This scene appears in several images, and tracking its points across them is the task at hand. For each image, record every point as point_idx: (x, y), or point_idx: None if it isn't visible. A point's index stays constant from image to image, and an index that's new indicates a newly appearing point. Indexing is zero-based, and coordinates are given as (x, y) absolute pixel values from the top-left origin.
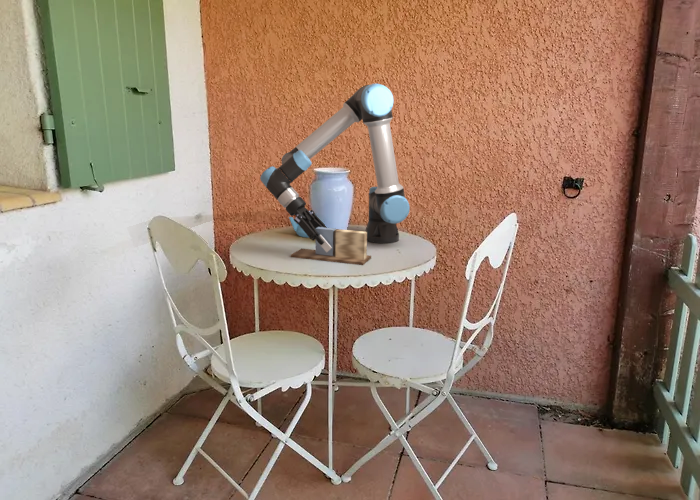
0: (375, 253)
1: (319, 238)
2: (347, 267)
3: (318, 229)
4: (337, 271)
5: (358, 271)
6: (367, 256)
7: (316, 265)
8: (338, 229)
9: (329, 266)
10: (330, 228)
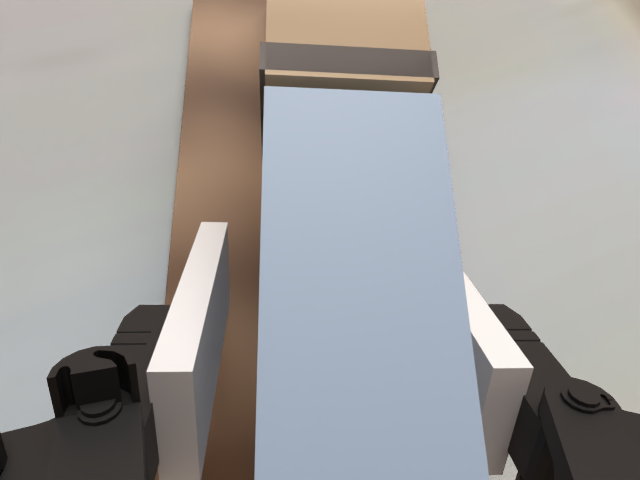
0: (26, 5)
1: (548, 362)
2: (510, 94)
3: (478, 463)
4: (636, 127)
5: (553, 11)
6: (226, 5)
7: (601, 336)
8: (291, 35)
9: (563, 222)
10: (316, 185)
